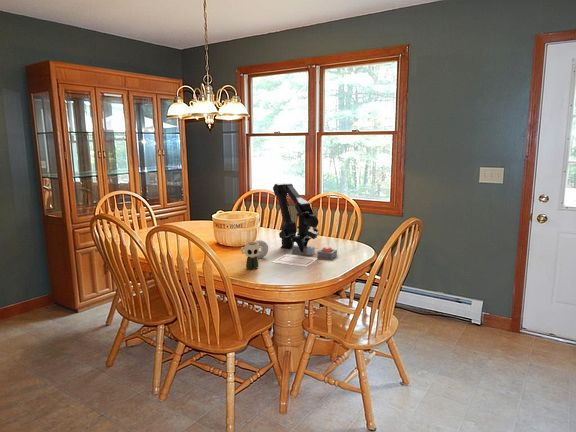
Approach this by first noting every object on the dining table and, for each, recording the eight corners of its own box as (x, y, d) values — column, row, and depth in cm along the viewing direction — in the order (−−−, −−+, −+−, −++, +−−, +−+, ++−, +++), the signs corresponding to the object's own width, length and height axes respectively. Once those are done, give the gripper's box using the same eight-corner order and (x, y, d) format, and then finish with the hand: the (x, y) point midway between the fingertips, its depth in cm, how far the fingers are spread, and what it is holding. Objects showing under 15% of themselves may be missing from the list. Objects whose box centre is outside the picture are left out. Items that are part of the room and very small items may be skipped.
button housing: (317, 257, 235) (317, 251, 234) (322, 253, 242) (322, 248, 242) (331, 259, 231) (331, 253, 231) (336, 255, 239) (337, 249, 238)
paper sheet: (271, 262, 227) (271, 261, 227) (285, 254, 242) (285, 254, 242) (306, 266, 218) (306, 266, 218) (318, 258, 233) (318, 258, 233)
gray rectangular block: (292, 252, 245) (292, 246, 244) (295, 251, 249) (295, 244, 248) (312, 255, 240) (312, 248, 239) (314, 253, 243) (314, 246, 243)
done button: (321, 254, 236) (321, 248, 235) (324, 252, 240) (324, 246, 239) (329, 255, 234) (329, 249, 233) (332, 253, 238) (332, 247, 237)
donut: (268, 256, 238) (268, 239, 236) (268, 258, 234) (268, 240, 233) (250, 257, 236) (249, 239, 234) (250, 259, 233) (250, 241, 231)
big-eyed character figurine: (242, 270, 212) (241, 245, 210) (241, 266, 219) (240, 242, 217) (263, 269, 214) (263, 244, 212) (262, 265, 221) (261, 241, 219)
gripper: (310, 228, 230) (309, 256, 232) (322, 222, 246) (322, 248, 249) (291, 227, 234) (291, 254, 237) (305, 221, 251) (304, 246, 254)
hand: (303, 251), depth 244 cm, fingers open, 4 cm apart
